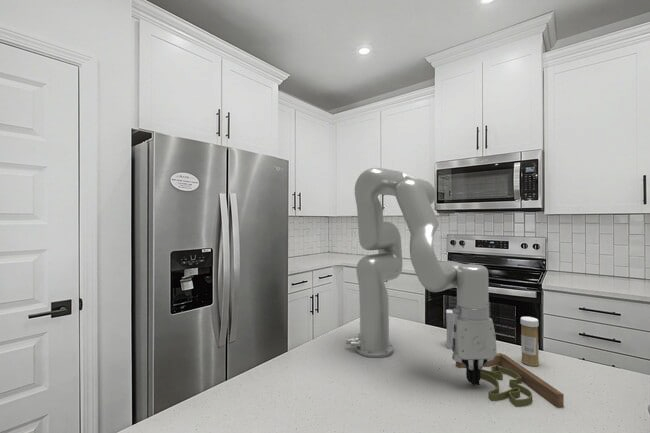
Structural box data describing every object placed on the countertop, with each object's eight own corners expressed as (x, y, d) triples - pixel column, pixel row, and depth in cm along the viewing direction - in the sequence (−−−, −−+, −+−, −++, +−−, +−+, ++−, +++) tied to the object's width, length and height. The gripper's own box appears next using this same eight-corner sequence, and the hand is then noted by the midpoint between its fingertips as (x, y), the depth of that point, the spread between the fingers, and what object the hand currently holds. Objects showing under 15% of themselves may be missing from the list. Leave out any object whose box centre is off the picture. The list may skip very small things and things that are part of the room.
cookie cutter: (465, 371, 94) (464, 364, 94) (507, 371, 94) (507, 364, 94) (494, 408, 76) (494, 399, 76) (547, 409, 76) (547, 400, 76)
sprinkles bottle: (541, 364, 97) (541, 318, 97) (534, 368, 95) (533, 321, 95) (525, 358, 101) (525, 315, 101) (518, 362, 99) (517, 317, 99)
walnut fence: (502, 410, 74) (502, 397, 74) (455, 365, 97) (455, 355, 97) (563, 407, 76) (563, 394, 76) (502, 363, 98) (502, 353, 98)
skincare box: (465, 345, 112) (465, 310, 112) (466, 350, 108) (465, 314, 108) (446, 343, 114) (446, 309, 114) (446, 348, 110) (446, 312, 110)
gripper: (451, 317, 81) (452, 391, 81) (509, 315, 82) (509, 389, 82) (438, 309, 89) (439, 377, 89) (491, 307, 90) (492, 374, 90)
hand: (473, 382), depth 85 cm, fingers closed
